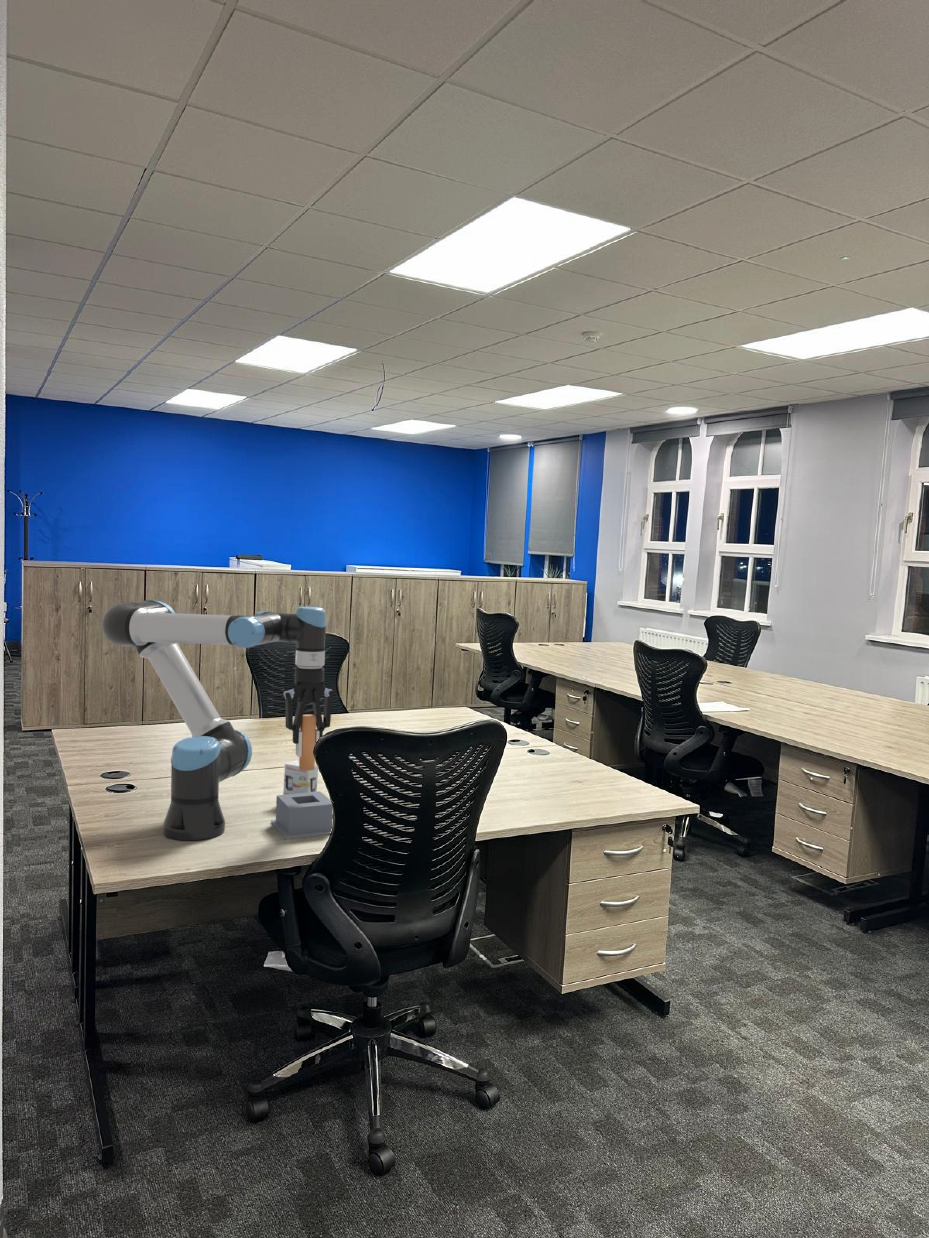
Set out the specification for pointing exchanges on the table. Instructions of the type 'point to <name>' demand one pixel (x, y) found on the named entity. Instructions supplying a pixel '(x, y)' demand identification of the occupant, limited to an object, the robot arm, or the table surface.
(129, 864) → the table surface
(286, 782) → the ink box
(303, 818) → the socket block
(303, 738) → the dowel
